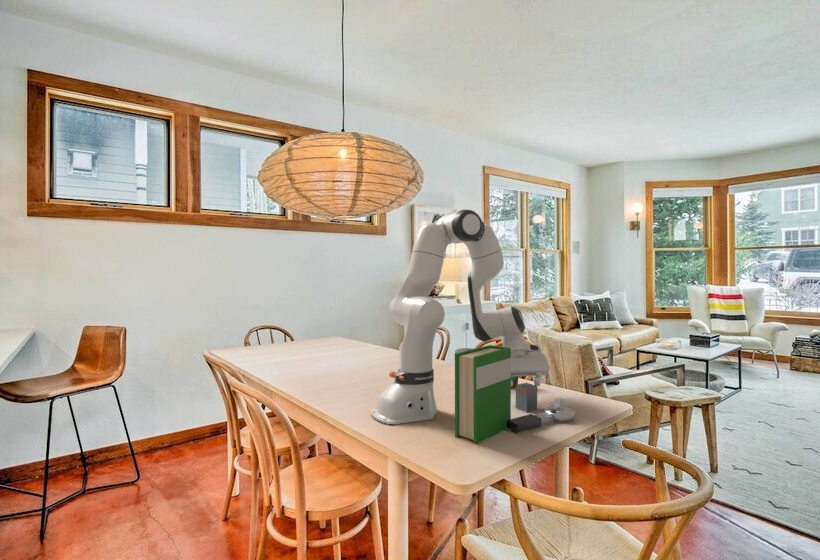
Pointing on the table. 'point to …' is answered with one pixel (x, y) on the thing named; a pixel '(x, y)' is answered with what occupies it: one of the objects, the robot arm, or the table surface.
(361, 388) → the table surface
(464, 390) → the hardback book
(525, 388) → the dark grey block
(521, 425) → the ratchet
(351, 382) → the table surface
